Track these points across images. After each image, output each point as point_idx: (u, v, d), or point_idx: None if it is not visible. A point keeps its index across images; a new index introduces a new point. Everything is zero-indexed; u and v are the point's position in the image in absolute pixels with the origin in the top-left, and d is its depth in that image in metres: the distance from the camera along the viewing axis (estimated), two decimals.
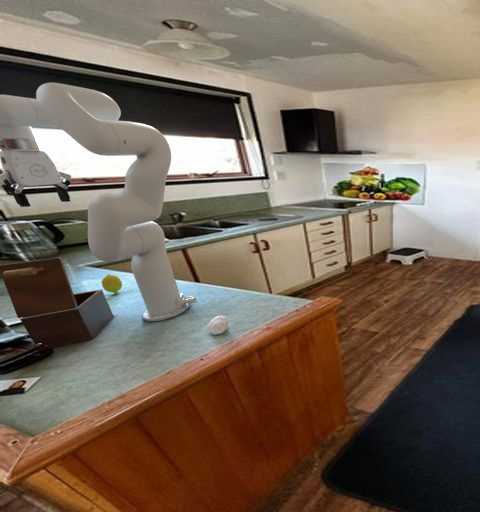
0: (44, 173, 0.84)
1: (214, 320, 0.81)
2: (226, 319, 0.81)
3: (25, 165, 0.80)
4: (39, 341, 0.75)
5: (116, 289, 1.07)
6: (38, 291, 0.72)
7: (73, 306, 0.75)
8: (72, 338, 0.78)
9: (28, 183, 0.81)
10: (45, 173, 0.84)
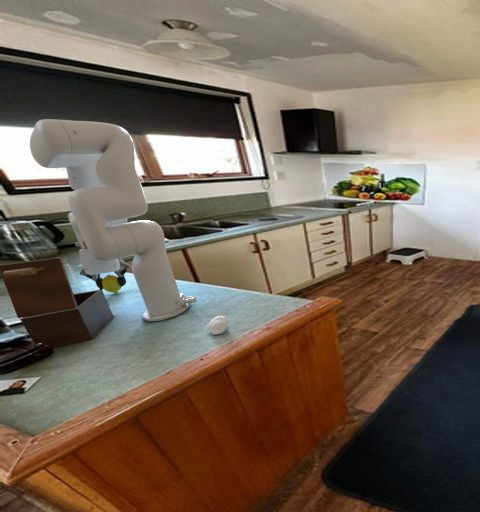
0: (103, 264, 1.02)
1: (214, 320, 0.81)
2: (226, 319, 0.81)
3: (89, 260, 1.00)
4: (39, 341, 0.75)
5: (116, 289, 1.07)
6: (38, 291, 0.72)
7: (73, 306, 0.75)
8: (72, 338, 0.78)
9: (90, 273, 1.02)
10: (104, 264, 1.02)
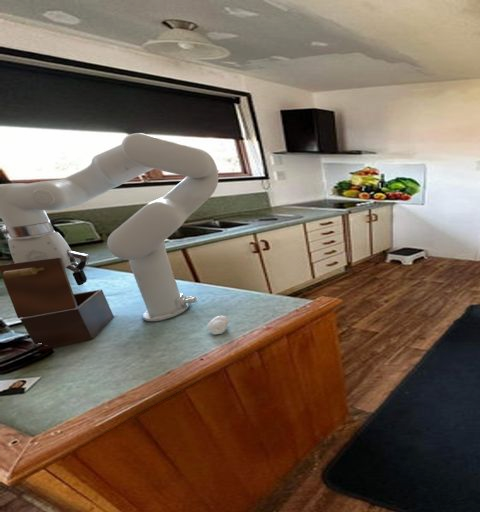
0: None
1: (214, 320, 0.81)
2: (226, 319, 0.81)
3: (22, 253, 0.72)
4: (39, 341, 0.75)
5: None
6: (38, 291, 0.72)
7: (73, 306, 0.75)
8: (72, 338, 0.78)
9: None
10: None
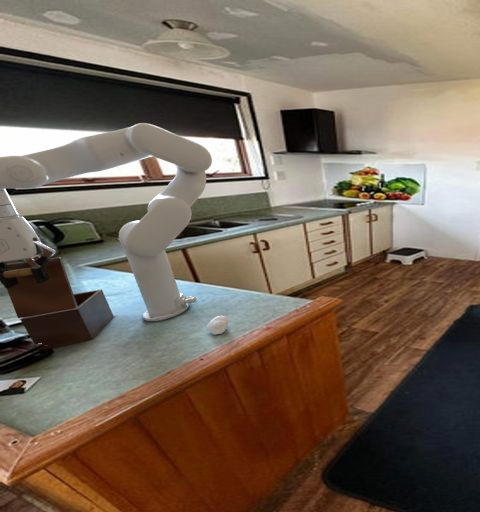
0: (5, 248, 0.64)
1: (214, 320, 0.81)
2: (226, 319, 0.81)
3: None
4: (39, 341, 0.75)
5: None
6: (38, 291, 0.72)
7: (73, 306, 0.75)
8: (72, 338, 0.78)
9: None
10: (6, 248, 0.64)
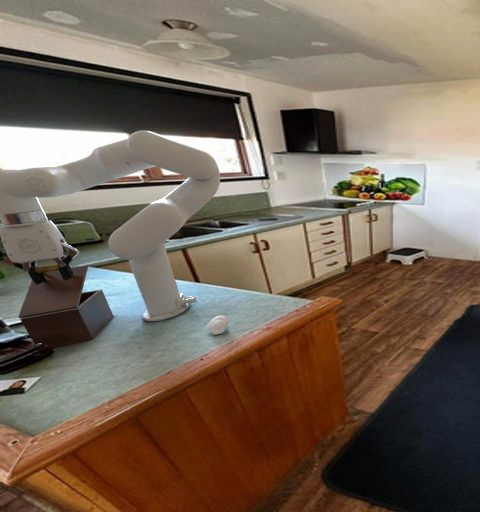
0: (36, 248, 0.72)
1: (214, 320, 0.81)
2: (226, 319, 0.81)
3: (14, 241, 0.70)
4: (39, 341, 0.75)
5: None
6: (52, 292, 0.77)
7: (74, 305, 0.76)
8: (72, 338, 0.78)
9: (18, 260, 0.72)
10: (38, 248, 0.73)
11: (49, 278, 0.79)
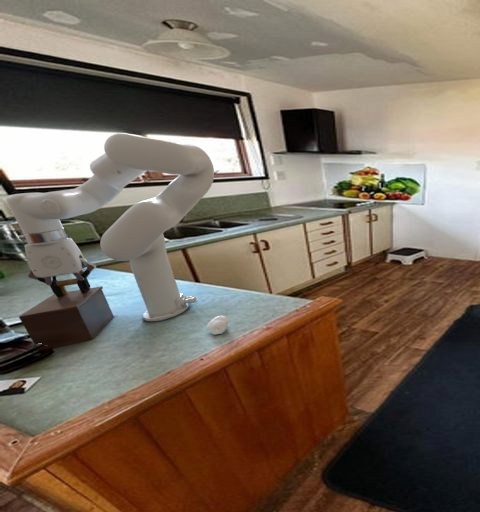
0: (58, 264, 0.79)
1: (214, 320, 0.81)
2: (226, 319, 0.81)
3: (38, 258, 0.77)
4: (39, 341, 0.75)
5: None
6: (61, 301, 0.79)
7: (75, 305, 0.76)
8: (72, 338, 0.78)
9: (41, 275, 0.78)
10: (59, 264, 0.79)
11: (64, 295, 0.83)
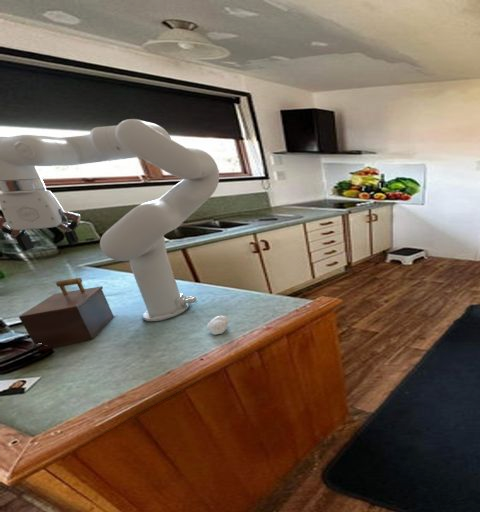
0: (35, 216, 0.74)
1: (214, 320, 0.81)
2: (226, 319, 0.81)
3: (13, 209, 0.72)
4: (39, 341, 0.75)
5: None
6: (61, 301, 0.79)
7: (75, 305, 0.76)
8: (72, 338, 0.78)
9: (17, 228, 0.73)
10: (36, 216, 0.74)
11: (64, 295, 0.83)
